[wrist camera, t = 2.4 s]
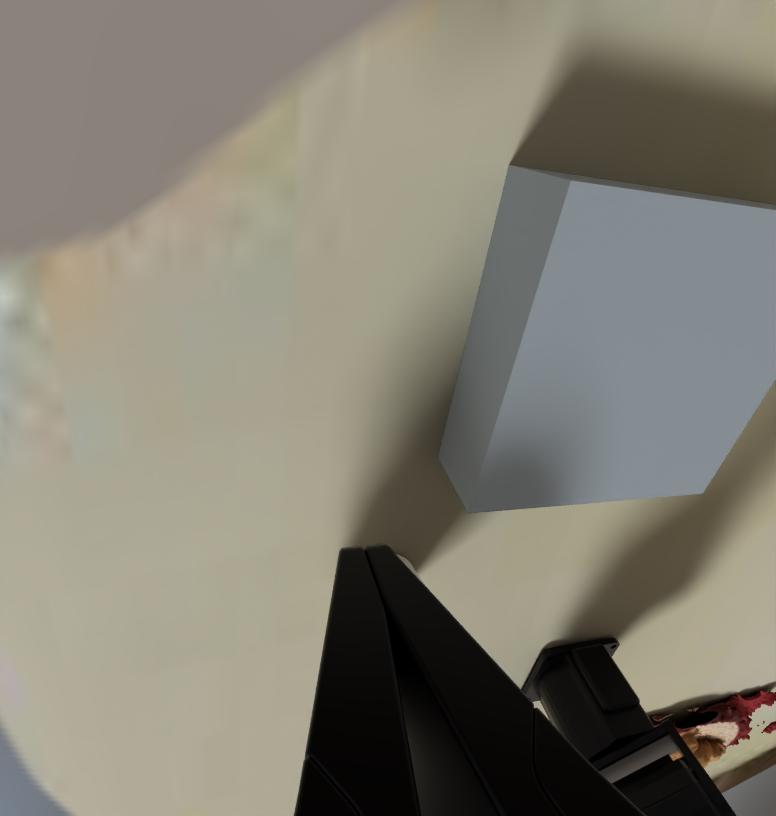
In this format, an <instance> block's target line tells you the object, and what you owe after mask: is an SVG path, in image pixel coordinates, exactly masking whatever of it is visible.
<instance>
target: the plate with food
mask: <svg viewBox="0 0 776 816" xmlns="http://www.w3.org/2000/svg"><path fill="white" fill-rule="evenodd" d="M721 700H722V699H721ZM774 700H775V701H776V692H774V693H773V692H768V693H765V692H763V691H760V693H757V694H756V695H754V696H752V697H745V698H742V697H741V696H740V695H738V694H737V695H736V696H732V695H731V699H729V700H728V701H727V700H726V703H724V702H722V703H721V704H715V705H713V706H710V707H708V708H707V709H703V710H701V711H700V712H699V713H704V712H708V711H709V712H718V716H717V717H716V718H715V719H713V720H712V721H710V722H709V723H707V722H706V724H704V723H703V724H702V725H698V726H694V727H689V728H686V729H680V728H677V727H675V723H674V722H671V723H672V724H673V726H674V727H675V729H676V730H677V731H678V733H679V734H680V736H681V737H682V739H683V740H684V741H685V743H686V744H687V746H688V747H689V748H690V750H691V751H692V753H693V754H694V756H695V757H696V758H697V760H698V761H699V763H700V764H701V765H702V767H703V768H705V766H707V764H708V762H710V761H716V760H719V759H720V757H721V756H722V755H721V754H724V753H725V751H726V747H727V746H730V745H734V744H735V745H738V744H739V742H738V739H741V738H742V739H743V740H744V739H745V738H746V739H748V740H749V739H750V736H749V735H748V733H749V731H751V730H752V728H750V727H749V724H750V721H752V719H751V718H749V717H748V715H750V716H752V712H755V709H757V708H760V707H761V704H766V705H768V706H772V704H774ZM702 708H703V707H702ZM698 709H699V708H698V707H694V709H693V712H696V710H698ZM688 711H690V712H691V711H692V709H691V708H690V710H689V709H688ZM675 713H676V712H673V713H672V714H666V715H662V716H661V717H657V716H653V717H652V718H651V719H653V720H655V721H661V720H663V719H665V718H667V717H669V716H672V715H674V714H675ZM648 717H649V716H648ZM656 717H657V718H656ZM654 718H655V719H654ZM651 719H650V720H651ZM661 724H662V723H661ZM661 724H659V725H661ZM763 724H764V721H763ZM659 725H658V724H655V728H656V727H658V726H659ZM757 726H759V725H757ZM773 730H776V722H772V723H770V724H769V725H768V726H767V727H766V728H765V729H764V730H763V732H766V733H771V732H772V731H773ZM763 732H761V733H763ZM670 757H671V758H672V760H673V761H674V760H676V759H679V758H681V757H682V756H681V754H680V753H679V751H677V752H675V753H674V754H672V755H670Z"/></svg>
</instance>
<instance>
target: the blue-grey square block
mask: <svg viewBox="0 0 776 816" xmlns="http://www.w3.org/2000/svg"><path fill="white" fill-rule="evenodd" d="M775 379H776V205H774V204H768V203H761V202H754V201H748V200H741V199H734V198H728V197H721V196H714V195H708V194H701V193H694V192H688V191H681V190H674V189H668V188H661V187H654V186H647V185H641V184H634V183H627V182H621V181H614V180H607V179H601V178H594V177H587V176H581V175H574V174H567V173H561V172H554V171H547V170H541V169H534V168H527V167H520V166H514V165H509V167H508V171H507V175H506V179H505V183H504V187H503V191H502V196H501V200H500V204H499V208H498V212H497V216H496V220H495V224H494V229H493V233H492V237H491V241H490V245H489V249H488V253H487V257H486V261H485V266H484V270H483V274H482V278H481V282H480V286H479V290H478V294H477V299H476V303H475V307H474V311H473V315H472V319H471V323H470V327H469V331H468V336H467V340H466V344H465V348H464V352H463V356H462V360H461V364H460V368H459V373H458V377H457V381H456V385H455V389H454V393H453V397H452V401H451V406H450V410H449V414H448V418H447V422H446V426H445V430H444V434H443V438H442V443H441V447H440V451H439V455H438V459H439V460H440V462H441V464H442V466H443V468H444V470H445V472H446V473H447V475H448V477H449V479H450V481H451V483H452V485H453V486H454V488H455V490H456V492H457V494H458V496H459V497H460V499H461V501H462V503H463V505H464V507H465V509H466V510H467V512H468V513H478V512H490V511H502V510H514V509H526V508H538V507H550V506H562V505H574V504H586V503H598V502H610V501H622V500H634V499H646V498H658V497H670V496H682V495H694V494H703V492H704V491H705V489H706V488H707V486H708V484H709V483H710V481H711V480H712V478H713V477H714V475H715V473H716V472H717V470H718V469H719V467H720V466H721V464H722V463H723V461H724V459H725V458H726V456H727V455H728V453H729V452H730V450H731V448H732V447H733V445H734V444H735V442H736V441H737V439H738V437H739V436H740V434H741V433H742V431H743V430H744V428H745V426H746V425H747V423H748V422H749V420H750V419H751V417H752V415H753V414H754V412H755V411H756V409H757V408H758V406H759V404H760V403H761V401H762V400H763V398H764V397H765V395H766V393H767V392H768V390H769V389H770V387H771V386H772V384H773V382H774V381H775Z"/></svg>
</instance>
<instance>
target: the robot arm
mask: <svg viewBox="0 0 776 816" xmlns="http://www.w3.org/2000/svg"><path fill="white" fill-rule="evenodd" d="M619 645H620V644H619V642H618V641H617V639H616V638H609V639H603V640H598V641H593V642H587V643H582V644H576V645H571V646H565V647H560V648H554V649H549V650H546V651H544V652H543V653H542V654H541V656H540V658H539V660H538V662H537V664H536V666H535V668H534V670H533V671H532V673H531V675H530V677H529V679H528V681H527V683H526V685H525V687H524V689H523V691H522V690H521V689H520V688H519V687H518V686H517V685H516V684H515V683H514V682H513V681H512V680H511V678H510V677H509V676H508V675H507V674H506V673H505V672H504V671H503V670H502V669H501V668H500V667H499V665H498V664H497V663H496V662H495V661H494V660H493V659H492V658H491V657H490V656H489V655H488V654H487V652H486V651H485V650H484V649H483V648H482V647H481V646H480V645H479V644H478V643H477V642H476V640H475V639H474V638H473V637H472V636H471V635H470V634H469V633H468V632H467V631H466V630H465V629H464V627H463V626H462V625H461V624H460V623H459V622H458V621H457V620H456V619H455V618H454V617H453V616H452V614H451V613H450V612H449V611H448V610H447V609H446V608H445V607H444V606H443V605H442V604H441V603H440V601H439V600H438V599H437V598H436V597H435V596H434V595H433V594H432V593H431V592H430V591H429V589H428V588H427V587H426V586H425V585H424V584H423V583H422V582H421V581H420V580H419V579H418V578H417V576H416V575H415V574H414V573H413V572H412V571H411V570H410V569H409V568H408V567H407V566H406V565H405V563H404V562H403V561H402V560H401V559H400V558H399V557H398V556H397V555H396V554H395V553H394V551H393V550H392V549H391V548H390V547H389V546H387V545H385V544H376V545H367V546H365V547H364V548H362V547H361V546H356V547H346V548H341V549H340V551H339V556H338V562H337V568H336V574H335V580H334V586H333V592H332V598H331V604H330V610H329V616H328V621H327V627H326V633H325V639H324V645H323V651H322V657H321V663H320V669H319V675H318V681H317V687H316V693H315V699H314V705H313V711H312V717H311V722H310V728H309V734H308V740H307V746H306V752H305V760H304V762H303V768H302V774H301V780H300V786H299V792H298V797H297V802H296V807H295V812H294V816H736V815H735V813H734V812H733V810H732V809H731V807H730V806H729V804H728V803H727V801H726V800H725V798H724V797H723V795H722V794H721V793H720V791H719V790H718V788H717V787H716V785H715V784H714V782H713V781H712V780H711V778H710V777H709V775H708V774H707V773H706V771H705V770H704V768H703V767H702V765H701V764H700V763H699V761H698V760H697V758H696V757H695V756H694V754H693V753H692V751H691V750H690V748H689V747H688V746H687V744H686V743H685V741H684V740H683V739H682V737H681V736H680V734H679V733H678V731H677V730H676V729H675V727H674V726H673V724H672V723H671V722H670V720H669V719H667V720H665V721H663V722H661V723H662V724H661V725H659V726H658V727H656V728H655V726H654V725H653V723H652V722H651V720H650V719H649V717H648V716H647V714H646V713H645V711H644V710H643V708H642V707H641V705H640V704H639V703H640V700H639V698H638V696H637V695H636V693H635V692H634V690H633V689H632V687H631V686H630V684H629V683H628V681H627V680H626V678H625V677H624V675H623V674H622V672H621V671H620V669H619V668H618V666H617V665H616V663H615V662H614V660H613V659H612V656H613V654H614V653H615V651H616V650H617V648H618V646H619ZM539 700H540V701H541V703H542V706H543V708H544V710H545V712H546V714H547V716H548V718H549V719H548V718H547V717H546V716H545V715H544V714H543V713H542V712H541V711H540V710H539V709H538V708H534V704H533V702H534V701H539ZM549 720H550V721H549ZM677 751H679V753H680V754H681V756H682V757H681V758H679V759H676V760H674V761H673V760H672V758H671V757H670V755H672V754H674V753H675V752H677Z"/></svg>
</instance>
